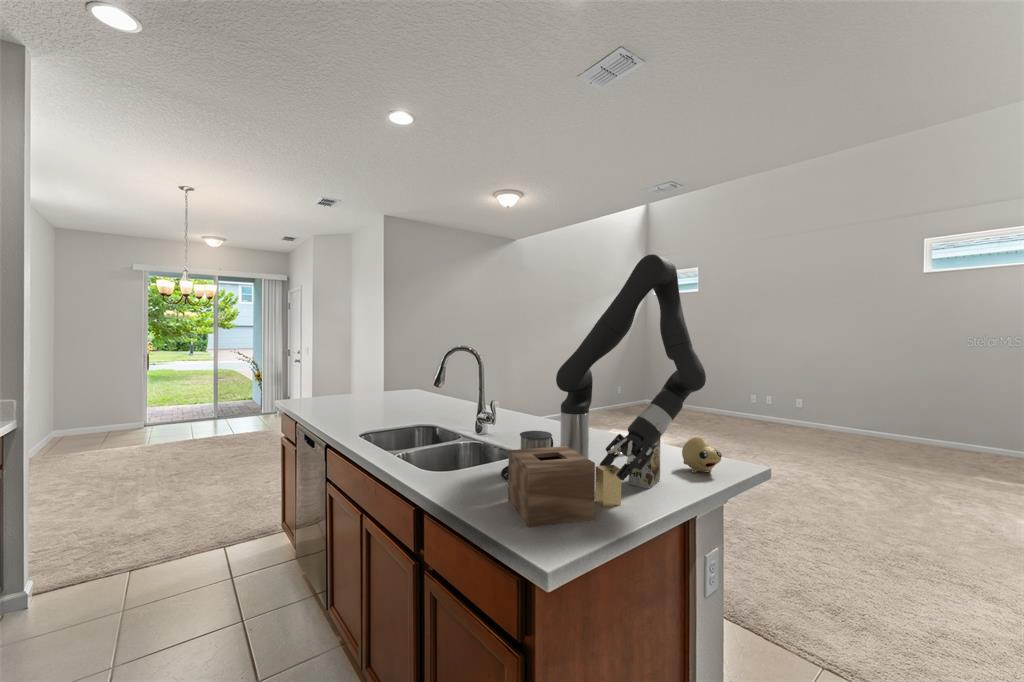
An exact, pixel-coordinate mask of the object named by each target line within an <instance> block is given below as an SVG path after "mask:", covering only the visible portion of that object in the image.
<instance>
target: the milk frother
mask: <svg viewBox="0 0 1024 682" xmlns="http://www.w3.org/2000/svg"><path fill="white" fill-rule="evenodd" d="M519 436H520V449H533V448H547V447H554V440H553V439H554V438H553V437H552V436H553V433H551V432H550V431H549V432H548V431H544V430H525V431H522V432H520V433H519ZM500 475H501V477H502V479H504V480H506V481H508V465H507V466H505V467H503V468H502V470H501V471H500Z"/></svg>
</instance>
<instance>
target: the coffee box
mask: <svg viewBox="0 0 1024 682" xmlns="http://www.w3.org/2000/svg"><path fill="white" fill-rule="evenodd" d="M651 449H652V450H653V451H654V453H653V455H652V456H651V457H650V459H649V460H648V461H647V463H646V464H645V465H644V467H643V468H642V469H641V470H638V469H635V470H632V471H631V472H630V474H629V475H628V485H630V484H631V486H634V485H636V486H635V487H639V486H640V487H639V488H643V487H645V488H644V489H647V488H650V489H651V488H652V487H654V486H655V485H656V484H658V483H659V482H660V481H661V437H660V438H659V439H658V441H657V442H656V443H655V444H654V445H653V447H652V448H651ZM641 461H642V460H641V459H640V461H639V464H640V463H641ZM659 480H660V481H659ZM658 481H659V482H658ZM657 482H658V483H657ZM654 484H655V485H654ZM653 485H654V486H653Z"/></svg>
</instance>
